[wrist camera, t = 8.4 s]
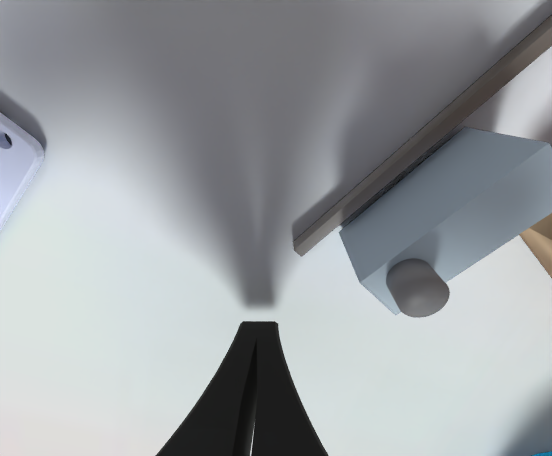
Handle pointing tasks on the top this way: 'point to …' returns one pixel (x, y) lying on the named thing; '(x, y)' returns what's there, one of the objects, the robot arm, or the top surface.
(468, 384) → the top surface
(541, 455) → the mug
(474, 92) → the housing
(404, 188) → the pale blue-grey box
